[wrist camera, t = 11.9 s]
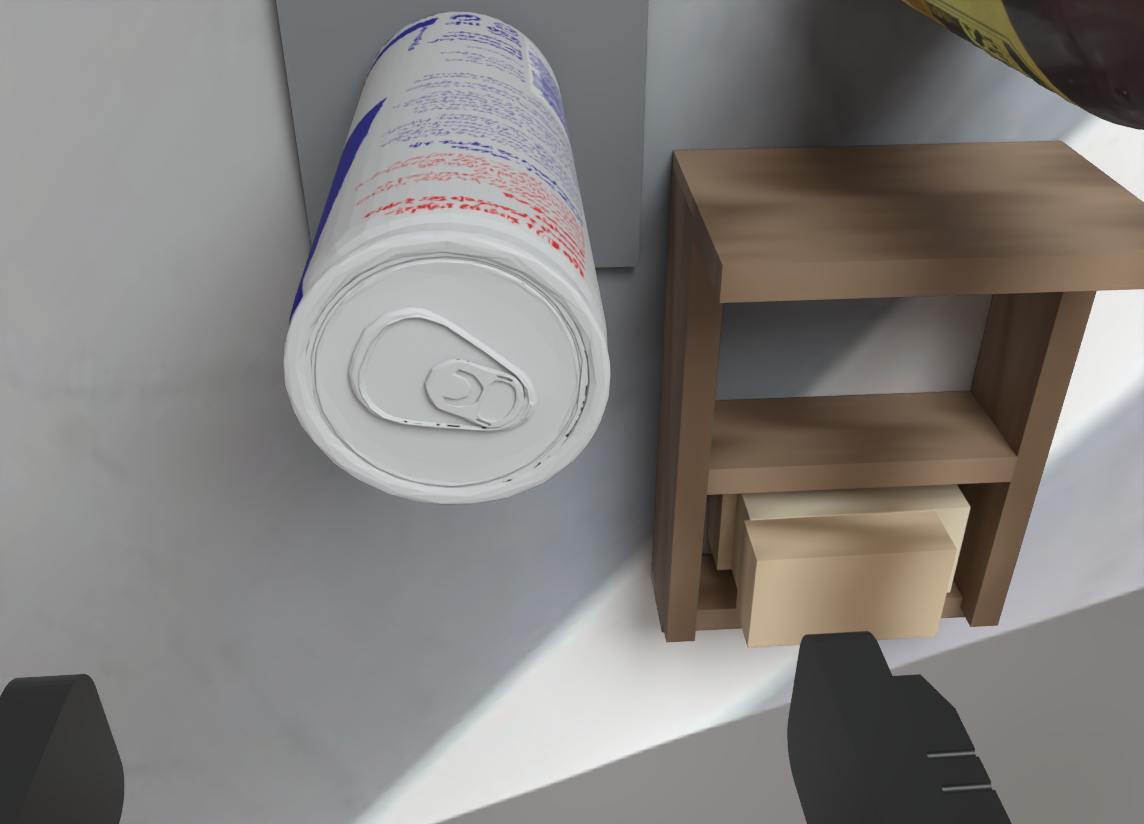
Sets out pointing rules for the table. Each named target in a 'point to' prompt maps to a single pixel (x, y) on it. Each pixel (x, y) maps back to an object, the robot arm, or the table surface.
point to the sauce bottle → (1061, 47)
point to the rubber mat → (557, 28)
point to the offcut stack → (839, 559)
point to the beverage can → (452, 277)
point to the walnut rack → (878, 270)
